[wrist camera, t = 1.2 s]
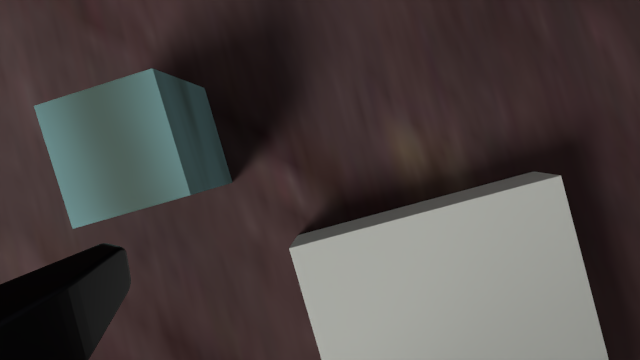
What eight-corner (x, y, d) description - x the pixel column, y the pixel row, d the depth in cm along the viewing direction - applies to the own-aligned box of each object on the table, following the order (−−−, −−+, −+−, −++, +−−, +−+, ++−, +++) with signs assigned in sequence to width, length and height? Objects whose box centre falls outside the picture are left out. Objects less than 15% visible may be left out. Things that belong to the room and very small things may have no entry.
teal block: (143, 208, 24) (72, 228, 18) (114, 115, 24) (33, 105, 18) (232, 182, 24) (190, 195, 18) (204, 87, 23) (152, 68, 17)
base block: (361, 453, 24) (361, 497, 21) (297, 235, 23) (289, 248, 20) (594, 403, 23) (629, 441, 20) (533, 171, 22) (561, 175, 19)
